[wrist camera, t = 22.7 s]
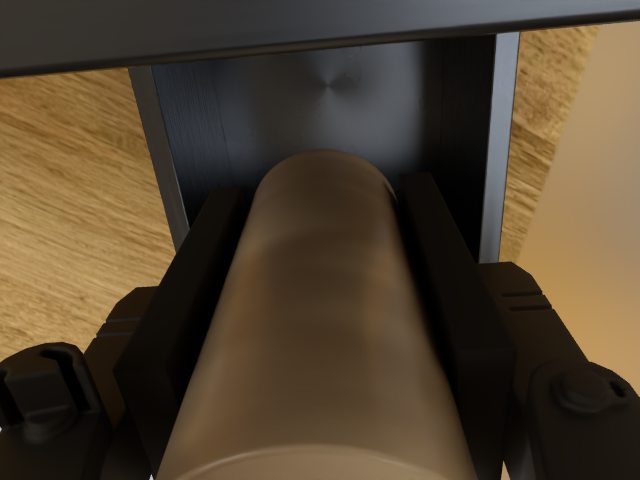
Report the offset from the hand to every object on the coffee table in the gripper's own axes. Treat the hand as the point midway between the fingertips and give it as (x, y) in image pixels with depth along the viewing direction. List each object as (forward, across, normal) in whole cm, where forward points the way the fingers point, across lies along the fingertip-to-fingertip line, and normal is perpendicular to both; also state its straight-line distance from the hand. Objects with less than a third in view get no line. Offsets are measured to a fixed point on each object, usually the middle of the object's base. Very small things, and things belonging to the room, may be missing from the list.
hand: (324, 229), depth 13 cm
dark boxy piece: (+14, 0, +1) cm, 14 cm away
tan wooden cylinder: (+1, 0, 0) cm, 1 cm away
